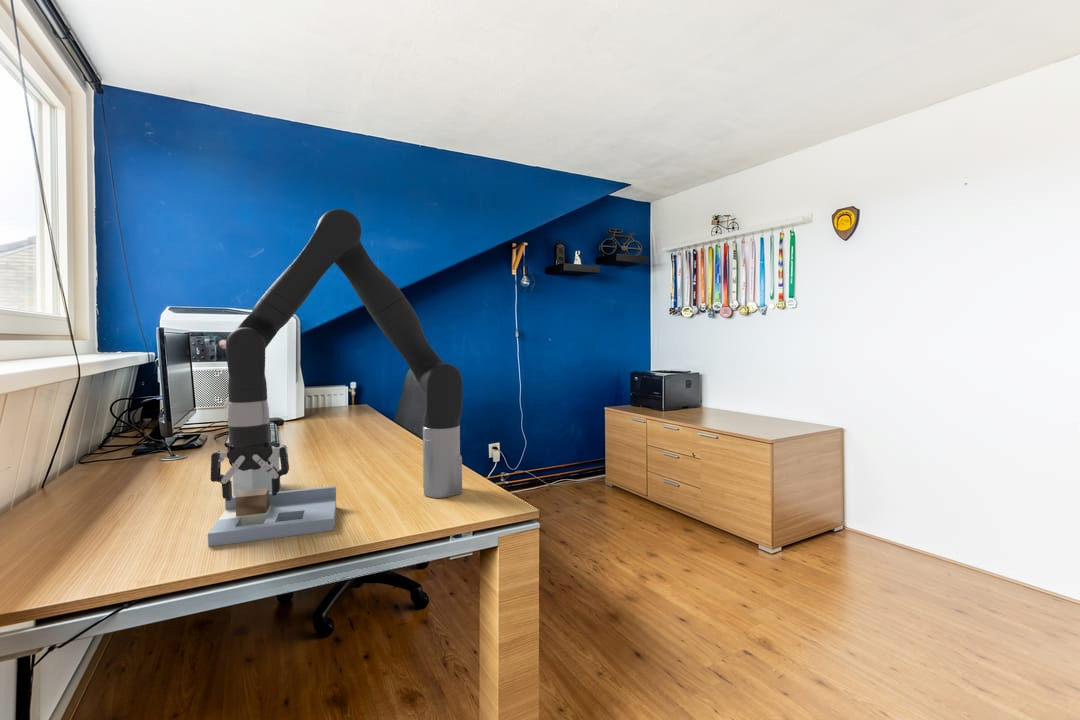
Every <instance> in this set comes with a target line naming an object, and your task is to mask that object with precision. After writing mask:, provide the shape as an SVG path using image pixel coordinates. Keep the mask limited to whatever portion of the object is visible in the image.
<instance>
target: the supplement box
mask: <svg viewBox="0 0 1080 720" xmlns="http://www.w3.org/2000/svg"><path fill="white" fill-rule="evenodd" d="M269 460H270V461H271V462H272V463H273V464H274V466H275V467H276V468H277V469H278V470H279V469H280V457H277V456H276V454H275V453H272V455H271V456H270V457H269ZM267 463H268V462H267ZM232 465H233V463H232ZM272 478H273V477H272V476H271V475H270V474H269V473H268V472H266V471H265V470H264V469H263V468H262V467H261V468H259V469H257V470H252V469H249V470H246V471H242V470H239V469H237V471H236V472H235V473H234V474H233V476H232V496H237V495H238V493H239V492H240V491H247V490H257V489H268V488H269V493H270V492H272ZM280 491H281V489H280V490H279V492H280Z"/></svg>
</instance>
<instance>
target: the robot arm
mask: <svg viewBox="0 0 1080 720" xmlns="http://www.w3.org/2000/svg"><path fill="white" fill-rule="evenodd" d="M361 239H362V225H361V222H360V221H359V219H358V217H357V216H356V215H355V214H354V213H352V212H350V211H349V210H347V209H342V208H336V209H331V210H328V211H326V212H325V213H324V214H323V215H321V217H320V218H319V219H318V222H317V224H316V227H315V230H314V232H313V234H312V236H311V237H310V239H309V240H308V242H307V243H306V245H305V246H304V248H303V249H302V250H301V252H300V253H299V255H297V257H296V258H295V259H294V260H293V262H292V263H291V264H289V266H288V267H287V268H286V269H285V270H284V271H283V272H282V273H281V274H280V275H279V277H277V279H276V280H274V282H273V283H272V284H271V285H270V287H268V289H267V290H266V291H265V293H264V294H263V295H262V296H261V297H260V298H259V299H258V301H257V302H256V303H255V305H254V307H253V309H252V311H251V312H250V313H249V314H248V315H247V316H246V317H245V318H244V319H243V321H242V322H241V323H240V324H239V325H238V326H237V327H236V328H235V329H234V330H233V331H232V332H230V333H229V335H228V336H227V338H226V340H225V352H226V354H225V355H226V361H227V362H226V363H227V364H226V365H227V370H228V371H227V372H228V384H227V385H228V386H227V389H228V394H227V395H228V407H227V424H228V425H227V427H228V446H229V447H228V451H220V450H216V451H214V452H213V453H212V454H211V457H210V482H213V483H214V482H216V483H217V482H218V483H220V484H221V491H222V493H221V494H222V495H221V496H222V499H225V498H226V501H230V500H231V499H232V496H233V480H231V479H232V478H233V474H234V473H235V472H236V471H237V469H239V470H242V471H246V470H249V469H252V470H257V469H259V468H261V467H262V468H263V469H264V470H265V471H266V472H268V473H269V474H270V475H271V476H272V477H273V478H272V496H275V495H277V493H278V492H279V490H280V491H281V477H282V476H285V475H287V474H289V470H290V463H289V455H288V447H287V445H285V444H284V445H281V446H277V447H275V448H272V447H271V446H272V444H271V429H270V425H271V424H270V409H269V404H268V386H267V385H268V384H267V378H266V375H265V374H266V372H265V371H266V369H265V368H266V349H267V347H268V346H269V345H270V343H271V342H272V340H273V339H274V338H275V337H276V335H277V333H278V332H279V331H280V329H282V328H283V327H285V325H286V324H287V323H288V322H289V321H290V320H291V318H292V317H293V316H294V315H295V313H296V312H297V311H298V310H299V308H300V307H301V306H302V305H303V304H304V302H305V301H306V299H308V296H310V294H311V292H312V291H313V290H314V289H315V288H316V285H317V284H318V282H320V280H321V279H322V277H323V276H324V275H325V274H326V272H327V271H328V270H329V269H330V268H331V267H332V265H334V264H335V265H336V266H337V267H338V268H339V269H340V271H341V272H342V274H343V275H344V276H345V277H346V278H347V280H348V281H349V283H350V285H351V286H352V288H353V290H354V292H355V293H356V295H357V297H358V298H359V300H360V301H361V303H362V304H363V306H364V307H365V309H366V310H367V312H368V313H369V315H370V316H371V318H372V319H373V321H374V322H375V324H376V325H377V326H378V328H379V329H380V330H381V332H382V333H383V334H384V336H385V337H386V338H387V339H388V340H389V342H390V343H391V345H393V347H394V348H395V349H396V350H397V351H398V353H399V354H400V355H401V357H402V358H403V359H404V360H405V363H407V366H408V367H409V369H410V370H411V372H412V373H413V375H414V377H415V379H416V381H417V383H418V385H419V387H420V388H421V390H422V391H423V392H424V394H425V395H426V399H425V402H426V403H425V406H426V407H425V411H424V414H423V416H422V458H423V460H422V461H423V464H422V465H423V466H422V467H423V475H422V476H423V477H422V478H423V479H422V480H423V495H424V496H426V497H428V498H434V499H435V498H437V499H439V498H449V497H454V496H456V495H459V494H462V493H463V458H462V455H461V439H460V437H461V435H460V434H461V432H460V431H461V430H460V429H461V426H460V425H461V423H460V422H461V417H462V414H463V401H464V400H463V396H464V395H463V393H464V383H463V382H464V381H463V377H462V374H461V372H460V370H459V369H458V368H457V367H456V366H455V365H453V364H452V363H451V364H450V363H445V362H444V361H443V359H441V358H440V357H439V355H438V354H437V353H436V351H435V350H434V348H432V346H431V345H430V343H429V342H428V340H427V338H426V336H425V333H424V330H423V328H422V324H421V322H420V320H419V316H418V315H417V313H416V311H415V309H414V308H413V306H412V305H411V303H410V302H409V300H408V299H407V297H406V296H405V294H404V293H403V291H401V289H400V288H399V287H398V286H397V285H396V283H394V282H393V280H392V279H391V278H389V277H388V276H387V275H386V273H385V272H384V271H382V270H381V269H380V267H378V266H377V265H376V264H375V263H374V261H373V260H372V258H371V257H370V255H369V253H368V252H367V250H366V249H365V247H364V246H363V244H362V242H361ZM272 453H275V454H276V456H277V457H279V463H280V468H279V470H278V469H277V468H276V467H275V466H274V464H273V463H272V462H271V461H270V460H269V457H270V456H271V455H272ZM226 458H227V459H228V461H229V460H230V461H231V462H232V463H233V465H232V466H231V467H230V468H229V469H228V470H227V472H226V473H225V474H221V465H222V464H221V463H223V462H224V461H225V459H226ZM267 462H268V463H267Z"/></svg>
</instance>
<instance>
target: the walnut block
mask: <svg viewBox="0 0 1080 720" xmlns="http://www.w3.org/2000/svg"><path fill="white" fill-rule="evenodd" d="M235 498H236V516H244V515H253V514H262V513H266V512H267V510H268V508H269V488H268V489H257V490H247V491H240V492H239V493H238V495H237V496H236V497H235Z"/></svg>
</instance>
